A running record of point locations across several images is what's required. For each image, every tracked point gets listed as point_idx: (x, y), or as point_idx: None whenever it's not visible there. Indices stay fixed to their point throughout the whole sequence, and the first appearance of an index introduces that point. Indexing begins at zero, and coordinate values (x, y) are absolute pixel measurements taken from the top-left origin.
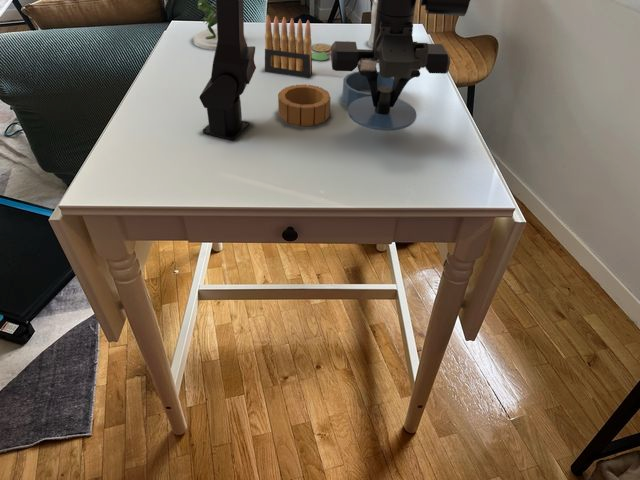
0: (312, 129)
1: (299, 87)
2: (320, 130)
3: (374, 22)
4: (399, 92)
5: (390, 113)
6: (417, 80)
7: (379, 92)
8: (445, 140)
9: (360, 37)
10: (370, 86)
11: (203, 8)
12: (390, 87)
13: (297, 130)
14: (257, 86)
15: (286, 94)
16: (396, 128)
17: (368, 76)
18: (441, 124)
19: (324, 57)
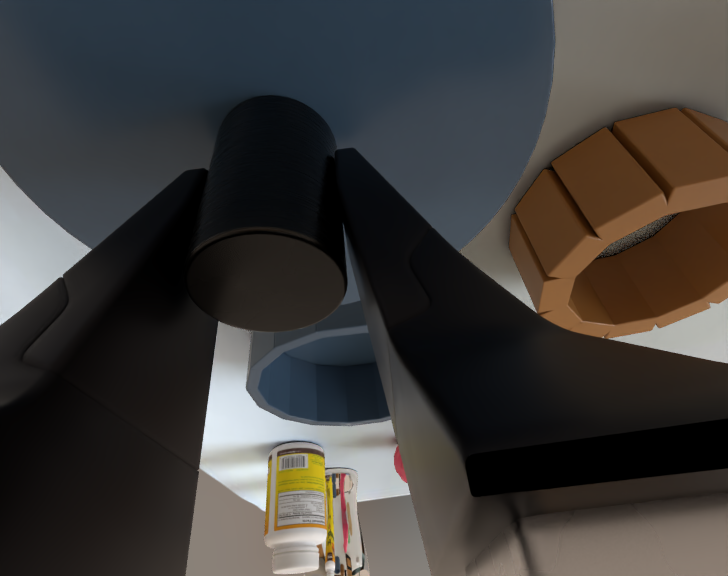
0: (622, 108)
1: (645, 319)
2: (585, 105)
3: (353, 528)
4: (88, 263)
5: (204, 123)
6: (221, 415)
7: (323, 236)
8: None
9: (373, 481)
10: (457, 262)
11: None
12: (285, 380)
13: (703, 85)
14: (685, 327)
15: (720, 275)
16: None
17: (669, 373)
18: (31, 247)
19: None
